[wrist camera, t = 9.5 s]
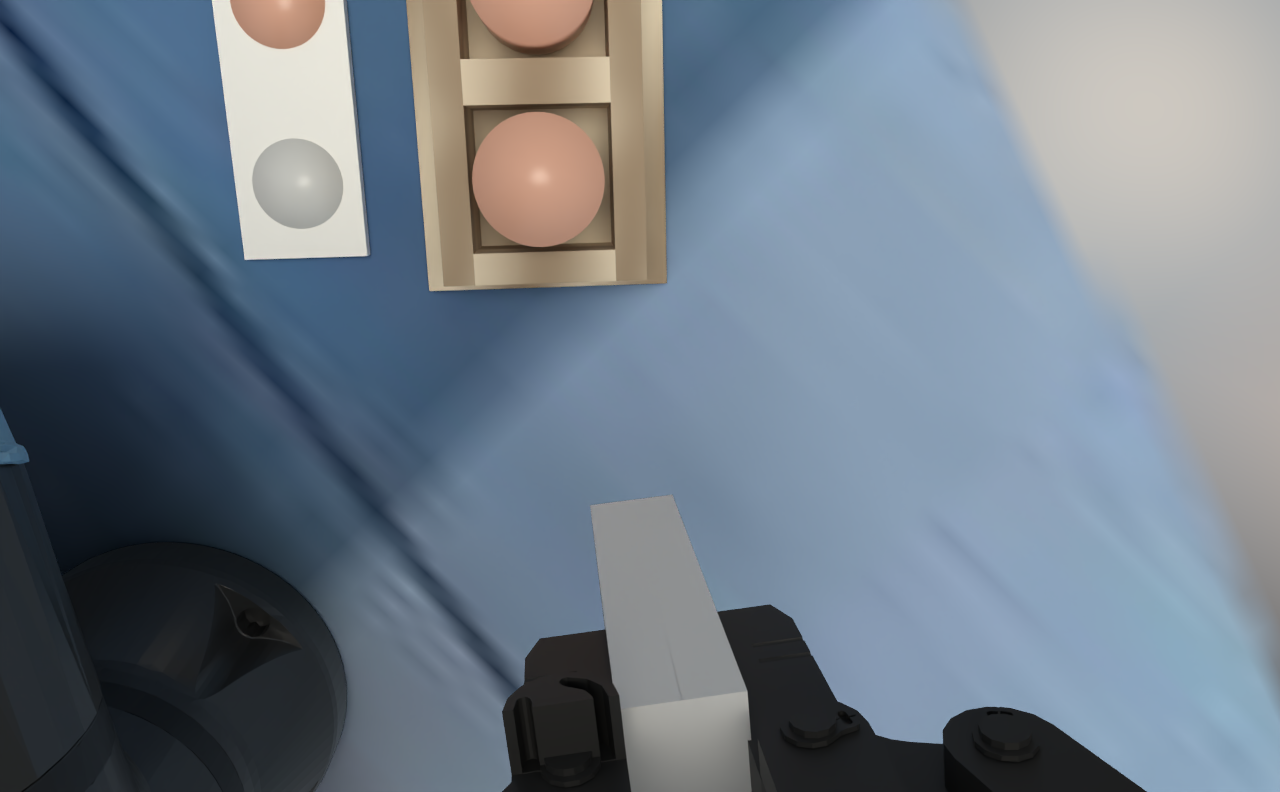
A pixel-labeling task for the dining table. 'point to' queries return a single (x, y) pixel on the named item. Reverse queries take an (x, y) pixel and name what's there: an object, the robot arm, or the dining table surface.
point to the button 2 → (538, 179)
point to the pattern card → (293, 127)
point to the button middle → (534, 22)
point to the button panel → (553, 83)
